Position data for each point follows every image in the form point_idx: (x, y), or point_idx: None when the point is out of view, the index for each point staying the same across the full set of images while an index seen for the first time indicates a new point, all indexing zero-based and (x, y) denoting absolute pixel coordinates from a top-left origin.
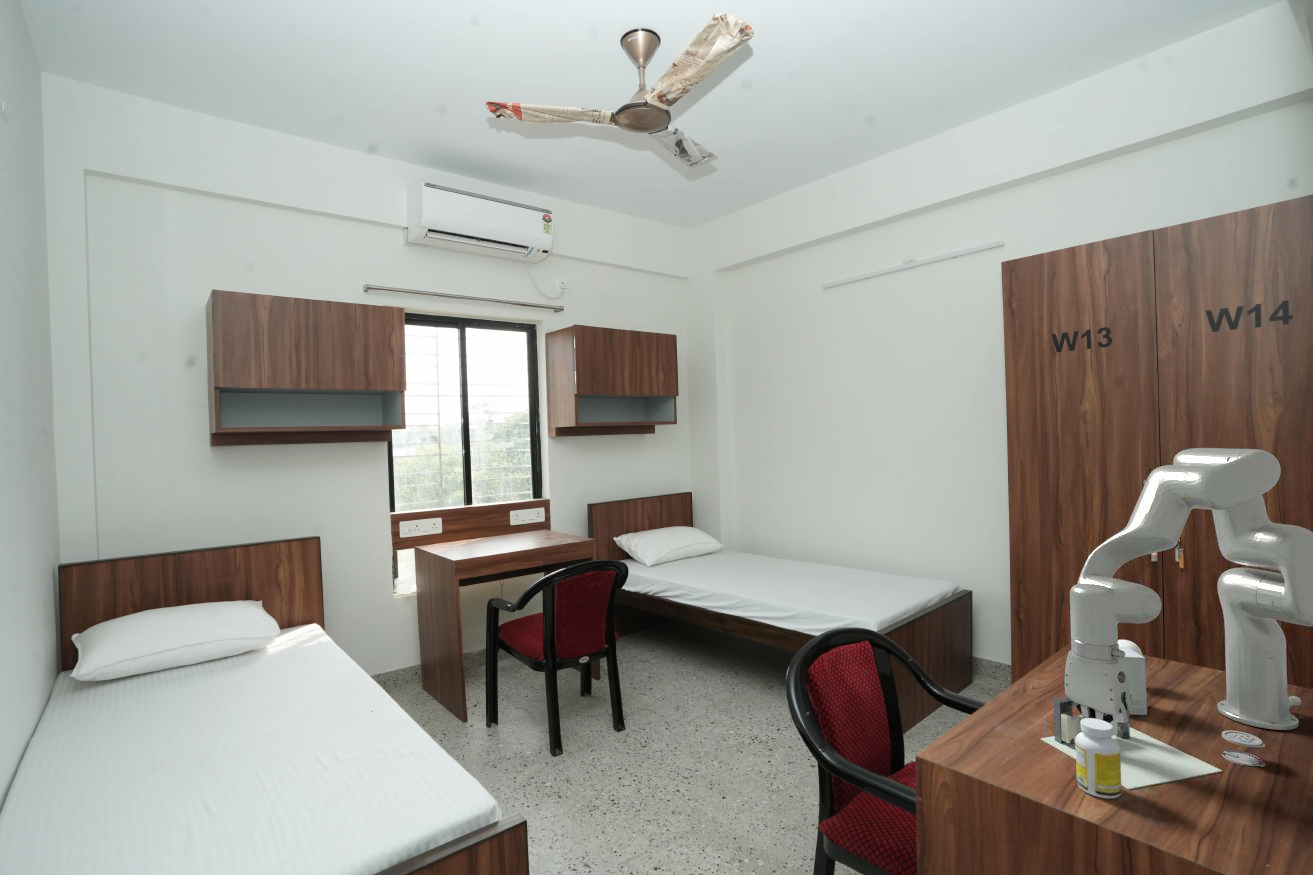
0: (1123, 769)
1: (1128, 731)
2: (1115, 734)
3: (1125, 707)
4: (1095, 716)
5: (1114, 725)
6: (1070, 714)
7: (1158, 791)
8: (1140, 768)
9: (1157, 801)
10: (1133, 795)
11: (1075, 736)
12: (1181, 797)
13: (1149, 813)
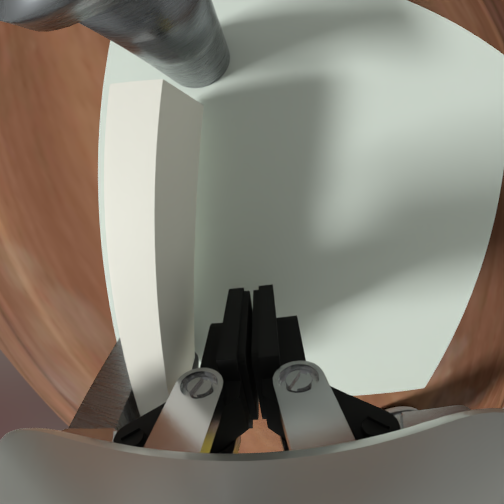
0: (386, 333)
1: (225, 44)
2: (202, 117)
3: (484, 417)
4: (229, 407)
5: (188, 116)
6: (128, 414)
7: (469, 333)
8: (415, 276)
9: (470, 364)
10: (435, 390)
11: (189, 361)
12: (501, 306)
13: (462, 400)
